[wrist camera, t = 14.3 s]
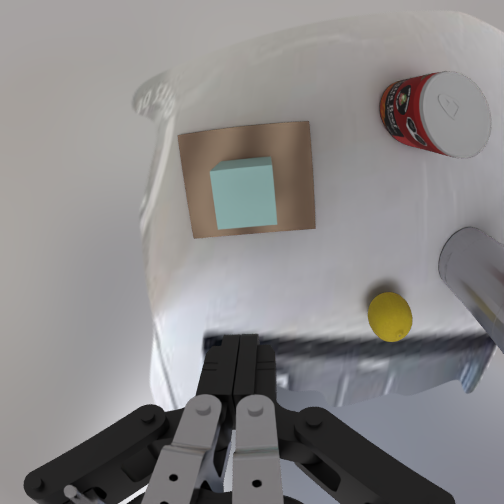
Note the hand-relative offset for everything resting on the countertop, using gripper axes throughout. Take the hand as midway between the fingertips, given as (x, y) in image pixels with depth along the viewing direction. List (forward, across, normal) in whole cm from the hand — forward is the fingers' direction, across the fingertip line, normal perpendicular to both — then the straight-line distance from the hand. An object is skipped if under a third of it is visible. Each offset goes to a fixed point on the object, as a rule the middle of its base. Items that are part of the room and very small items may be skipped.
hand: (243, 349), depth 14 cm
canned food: (+24, -18, -10) cm, 32 cm away
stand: (+24, +1, -3) cm, 24 cm away
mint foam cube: (+22, +1, -3) cm, 22 cm away
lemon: (+24, -15, +14) cm, 32 cm away
